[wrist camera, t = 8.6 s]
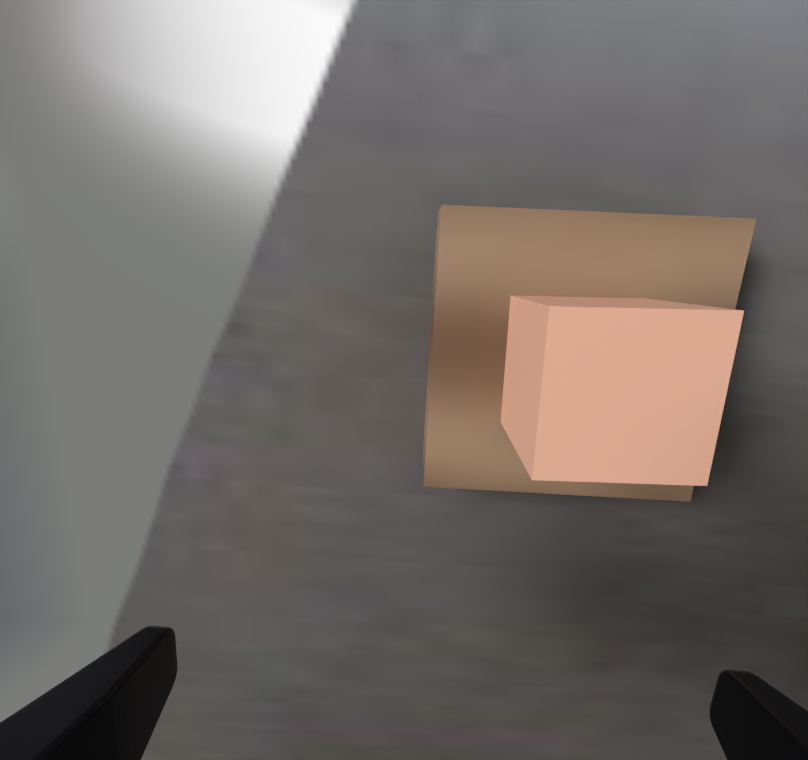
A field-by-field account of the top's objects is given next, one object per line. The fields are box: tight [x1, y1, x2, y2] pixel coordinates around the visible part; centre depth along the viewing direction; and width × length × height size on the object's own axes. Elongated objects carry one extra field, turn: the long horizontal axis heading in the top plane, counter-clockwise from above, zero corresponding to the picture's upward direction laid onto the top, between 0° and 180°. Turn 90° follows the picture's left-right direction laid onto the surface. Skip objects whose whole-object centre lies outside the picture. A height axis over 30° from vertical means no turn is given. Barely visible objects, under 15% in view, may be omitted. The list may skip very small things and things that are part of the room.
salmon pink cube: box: [501, 296, 744, 486], centre depth 13 cm, size 4×4×4 cm
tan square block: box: [423, 205, 756, 502], centre depth 17 cm, size 10×10×3 cm
